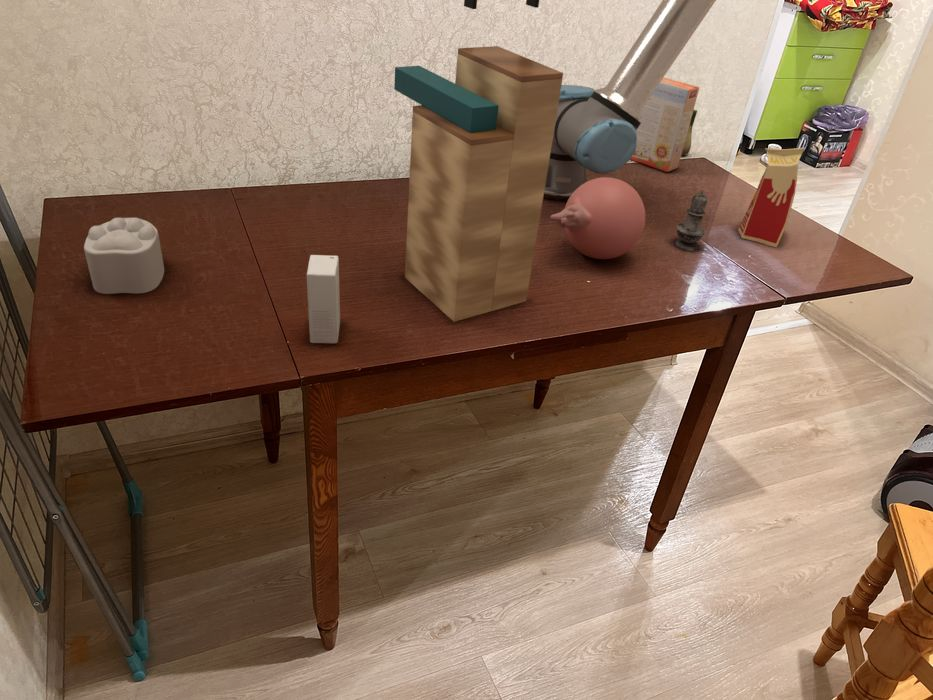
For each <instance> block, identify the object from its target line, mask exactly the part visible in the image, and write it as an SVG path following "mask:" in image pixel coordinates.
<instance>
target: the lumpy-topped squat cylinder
mask: <svg viewBox="0 0 933 700" xmlns="http://www.w3.org/2000/svg"><path fill="white" fill-rule="evenodd" d="M83 250H84V254H85V259H86V263H87V267H88V272H89V275H90V279H91V283H92V288H93V290H94V291H95V292H97V293H99V294H104V295H111V294H112V295H113V294H145V293H148V292H151V291H153V290H155V289H156V288H157V287H158V286H159V285H160V284H161V282H162V280H163V277H164V274H165V265H164V259H163V252H162V246H161V241H160V234H159V231H158V229H157V228H156V227H155V226H154V225H153V224H152V223H151V222H149V221H148V220H145V219H142V218H140V217H139V218H138V217H113V218H112V219H111V220H110V221H106V222H104V223H101V224H99V225H93V226H91V227H90V229H89V230H88V235H87V237H86V239H85V242H84V244H83Z"/></svg>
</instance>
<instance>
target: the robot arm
mask: <svg viewBox="0 0 933 700" xmlns="http://www.w3.org/2000/svg"><path fill="white" fill-rule="evenodd" d="M525 1H526V2H525V5H526V6H529V7H531V8H537V9H538V8H539V5H540V0H525ZM716 1H717V0H661V3H660V4H659V5H658V7H657V8H656V9H655V11H654V13H653V14H652V16H651V17H650V18H649V20H648V22H647V23H646V25H645V27H644V28H643V29H642V31H641V32H640V34H639V36H638V37H637V39H635V41H634V43H633V45H632V46H631V48H630V49H629V51H628V52H627V54H626V56H624V59H623V60H622V61H621V63H620V65H618V67H617V69H616V71H615V72H614V74H613V75H612V77H611V78H610V80H609V81H608V82H607V84H606V86H604V87H600V88H596V89H595V88H592V87H589V86H583V85H574V84H562V85H561V91H560V97H559V103H558V109H557V115H556V122H555V128H554V134H553V140H552V146H551V152H550V158H549V165H548V171H547V177H546V183H545V189H544V195H543V199H548V200H553V201H568V199H569V198H570V196H571V195H572V193H573V192H574V191H575V190H576V189H577V188H578V187H580V186H581V185H582V184H584V183H586V182H587V181H588V176H587V170H588V171H590V172H591V173H595V174H599V175H603V174H605V175H606V174H610V173H612V172H616V171H618V170H620V169H621V168H623V167H624V166H625V165H626V164H627V163H628V162H629V161H630V160H631V157H632V156H633V154H634V152H635V150H636V147H637V143H636V141H637V134H636V130H637V129H638V127H639V126H640V124H641V123H642V118H641V110H642V108H643V107H644V105H645V104H646V102H647V101H648V99H649V98H650V96H651V95H652V93H653V92H654V90H655V89H656V88H657V86H658V85H659V83H660V82H661V80H662V79H663V77H664V78H665V76H666V75H667V73H668V71H669V70H670V68H671V67H672V66H673V64H674V63H675V61H676V60H677V59H678V57H679V55H680V54H681V52H682V51H683V50H684V48H685V47H686V45H687V44H688V42H689V41H690V40H691V38H692V36H693V35H694V33H695V32H696V31H697V29H698V27H700V25H701V24H702V22H703V20H704V19H705V18H706V16H707V14H708V13H709V11H710V10H711V9H712V7H713V5H714V4H715V3H716ZM477 5H478V0H463V6H464V7H465V8H469V9H471V10H477Z"/></svg>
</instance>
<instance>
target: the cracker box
mask: <svg viewBox="0 0 933 700" xmlns="http://www.w3.org/2000/svg"><path fill="white" fill-rule="evenodd" d="M699 91H700V86H697V85H693V84H689V83H686V82H682V81H679V80H675V79H672V78H669V77H668V78H667V77H665V76H664V77H663V79H662V80H661V82H660V83H659V85H658V86H657V88H656V89H655V90H654V92H653V93H652V95H651V96H650V98H649V99H648V101H647V102H646V104H645V105H644V107H643V108H642V110H641V118H642V123H641V124H640V126H639V127H638V129H637V130H636V134H637V141H636V143H637V147H636V150H635V152H634V154H633V156H632V157H631V159H630V160H631V161H634V162H637V163H640V164H642V165H646V166H648V167H652V168H654V169H657V170H659V171H663V172H665V173H669V172H672V171H674V170H677V169H678V168H679V166H680V162H681V158H682V156H683V155H682V151H683V147H684V144H685V140H686V136H687V132H688V129H689V125H690V121H691V117H692V114H693V110H695V106H696V102H697V98H698V95H699Z"/></svg>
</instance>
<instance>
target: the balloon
mask: <svg viewBox="0 0 933 700" xmlns="http://www.w3.org/2000/svg"><path fill="white" fill-rule="evenodd" d="M566 201H567V202H566V204H565V206H564V208H563V209H562V210H561V211H559V212H557V213H555V214H554V213H553V214H551V215H550V220H551V221H553V222H557V224H558V226H559V227H561V228H562V229H564V233H565V235H566V238H567V240H568V242H569V243H570V245H571V246H572V247H573V248H574V249H575V250H577V251H578V252H579V253H581V254H582V255H584V256H586V257H588V258H591V259H596V260H610V259H615V258H618V257H620V256H622V255H624V254H626V253H628V252H629V251H630V250H631V249H632V248H633V247H635V245H636V244H637V243H638V242H639V240H640V238H641V236H642V235H643V232H644V229H645V225H646V209H645V205H644V201H643V199H642V198H641V196H640V194H639V193H638V191H637V190H636V189H635V188H634V187H633V186H632V185H630V184H629V183H627V182H625V181H624V180H621V179H619V178H615V177H609V176H604V177H596V178H593V179H590V180H587V182H586V183H584V184H582V185H581V186H580V187H578V188H577V189H576V190H575V191H574V192H573V193H572V195H571V196H570V198H569V199H568V200H566Z"/></svg>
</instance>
